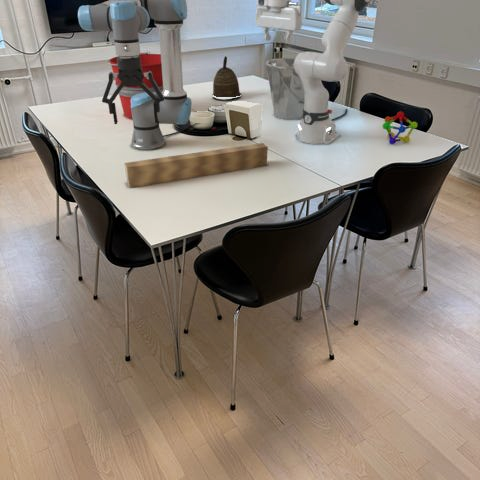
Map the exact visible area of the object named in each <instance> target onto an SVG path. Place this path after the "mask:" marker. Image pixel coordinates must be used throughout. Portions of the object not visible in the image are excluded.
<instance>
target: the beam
mask: <svg viewBox="0 0 480 480" xmlns="http://www.w3.org/2000/svg"><path fill="white" fill-rule="evenodd" d="M268 150H269V149H268V146H267V145H266V144H265V143H263V142H260V143H255V144H254V143H252V144H247V145H239V146H232V147H226V148H218V149H212V150H211V149H210V150H205V151H197V152H190V153H184V154H183V153H182V154H177V155H170V156H169V155H168V156H163V157H155V158H150V159H142V160H135V161H129V162H124V170H125V175H126V176H125V178H126V184H127V185H128V188H129V189H130V188H137V187H143V186H149V185H155V184H160V183H167V182H173V181H180V180H186V179H191V178H199V177H205V176H209V175H216V174H221V173H228V172H229V173H230V172H235V171H239V170H240V171H241V170H245V169H251V168H252V169H253V168H259V167H266V166H267V165H268Z"/></svg>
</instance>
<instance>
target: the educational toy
mask: <svg viewBox="0 0 480 480" xmlns="http://www.w3.org/2000/svg"><path fill="white" fill-rule="evenodd" d="M397 119H399V124H400V125H399V127H398V126H393V125H391V124H392V123H394V122H395V121H396V120H397ZM403 120H404V121H405V122H407V123H408V124H409V125H407V126H404V123H403ZM417 127H418V122H417V121H411V120H410V119H409V118H408V117H406V116H405V113H404V112H403V111H401V110H400V111H398V112H397V114H396V115H394V116H391V117H390V116H386V117H385V118H384V122H383V123H382V129H383V130H386V132H387V138H388V142H389V145H395V144H396V143H397V142H402V141H403V142H404V143H409V142H410V140H411V138H410V136H411V134H412V132H413V131H414V130H415V129H417ZM392 129H393V130H397V131H398V132H396V134H395V133H394V132H392ZM408 129H409V131H408V133H407V134H406V135H404V136H401V134H403V133H405V132H406V130H408ZM399 135H400V136H399Z"/></svg>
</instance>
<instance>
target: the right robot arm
mask: <svg viewBox="0 0 480 480" xmlns="http://www.w3.org/2000/svg"><path fill="white" fill-rule="evenodd" d="M371 1H372V0H324V2H325V4H327V5H330V6H337V7H338V9H337V12H336V13H335V14H334V15H333V17H332V19H331V20H330V22H329V23H328V25H327V27H326V29H325V31H324V32H323V35H321V44H322V46H323V48H324V49H325V50H324V52H316V51H301V52H299V53H298V54H296V57H294V58H295V61H294V69H295V72H296V73H297V74H298V75H299V77H300V79H301V81H302V83H303V87H304V92H305V100H304V109H303V112H302V117H303V118H302V119H300V121H299V124H298V125H297V126H298V132H296V136H297V139H298V140H299V142H302V143H305V144H312V145H320V144H321V145H322V144H324V145H330V144H331V143H332V142H334V141H335V140H337V139H338V138H339V137H340V136H341V133H339V132H338V131H336V128H337V127H336V126H337V125H336V123H335V122H334V121H337V120H339V119H341V118H342V117H344V116H346V114H347V113H348V108H345V111H344V113H343V114H341V115H339V116H337V117H334V118H332V119H331V118H330V115H332V114H333V109H329V100H330V94H329V91H328V90H327V88H325V86H324V84H323V82H322V81H324V82H331V83H332V82H340V81H342V80H343V79H344V78H345V77H346V75H347V72H348V63H347V60H346V58H345V56H344V51H345V49H346V46H347V44H348V42H349V40H350V38H351V37H352V35H353V33H354V30H355V28H356V26H357V23H358V20H359V13H361V12H362V11H363V10H364V9H365V8H366V7H367V6H368V5H369V4H370V2H371ZM256 6H257V7H256V9H255V16H254V18H255V20H254V21H255V25H256V27H259V28H262V33H263V35H264V40H265V41H271V40H272V35H270V32H269V31H270V29H274V30H275V29H276V30H284V31H285V32H286V36H285V37H283V44H290V41H291V37H292V35H293V34H294V32H296V31H297V32H298V31H300V30H301V29H302V26H303V25H302V19H303V17H302V5H301V3H300V2H298V1H292V0H256Z"/></svg>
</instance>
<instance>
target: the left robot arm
mask: <svg viewBox="0 0 480 480" xmlns="http://www.w3.org/2000/svg"><path fill="white" fill-rule="evenodd" d="M187 17H188V6H187V0H107V1H104V2H101V3H98V4H95V5H90V4H87V5H81V6H79V8H78V10H77V19H78V24H79V26H80V27H81V29H82V30H83V31H87V32H92V33H93V32H112V34H113V42H114V49H115V50H114V51H115V55H116V57H117V56H118V57H117V65H118V73H113V71H110V72H109V73H108V82H107V85H106V87H105V90H104V93H103V96H102V99H101V102H102V103H104V104H107V105H108V111H109V114H110V115H112V116H113V117H112V118H113V122H114V125H118V122H119V121H118V115H117V109H116V108H117V107H116V102H114V101H115V99H116V98H117V97H118V96H119V92H120V91H121V89H122V88H123V87H124V85H125V86H126V87H137V86H140V87H141V88H142V89H143V90H144V91H145V93H140V94H136V95H134V96H133V97H132V98H131V111H132V119H131V120H132V125H133V132H132V135H131V142H130V143H131V147H132V148H134V149H135V150H141V151H151V150H153V151H154V150H157V149H161V148H163V147H164V146H165V144H166V140H165V138H166V137H169V136H173V135H176V134H179V133H181V132H184V131H185V130H187V129H189V128H190V127H192V126H191V124H190V125H188V126H186V127H184V128H182V129H180V130H178V131H175V132H172V133H169V134H168V133H167V134H163V132H162V130H161V127H160V124H161V125H176V126H179V125H186V124H188V122H189V120H190V118H191V113H192V99H191V97H189V96H188V93H187V91H185V89H184V83H183V67H182V66H183V63H182V42H181V28H182V27H183V25H184V20H186V19H187ZM151 20H153V21H154V22H153V23H154V26H156V28H157V29H158V37H159V39H158V40H159V50H160V51H159V52H160V53H159V54H161V66H162V79H163V90H162V92H161V91H160V89H159V87H158V85H157V84H156V82H155V80H154V79H153V75H152V72H151V71H149V72H146V73H143V71H142V65H141V58H140V57H139V55H140V53H141V47H140V39H139V32H142V31H145V30H146V29H147V28H148V27H149V25H150V21H151ZM116 77H118V79H119V80H120V81H121V83H120V84H119V86H118V87H117V86H116V89H115V90H114V92H113V93H112V94H111V96H110V98H108V97H109V94H110V92H111V89H112V85H113V82H114V81H115V79H116ZM144 77H146V78H147V79H149V81H150V83H151V84H152V86H153V88H154V89H155V91H156V93H157V94H156V93H155V92H152V91H151V90H150V89H149V88H148V87H147V86H146V85H145V83H144V82H143V81H142V79H143V78H144ZM157 95H158V96H159V97H157Z"/></svg>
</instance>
